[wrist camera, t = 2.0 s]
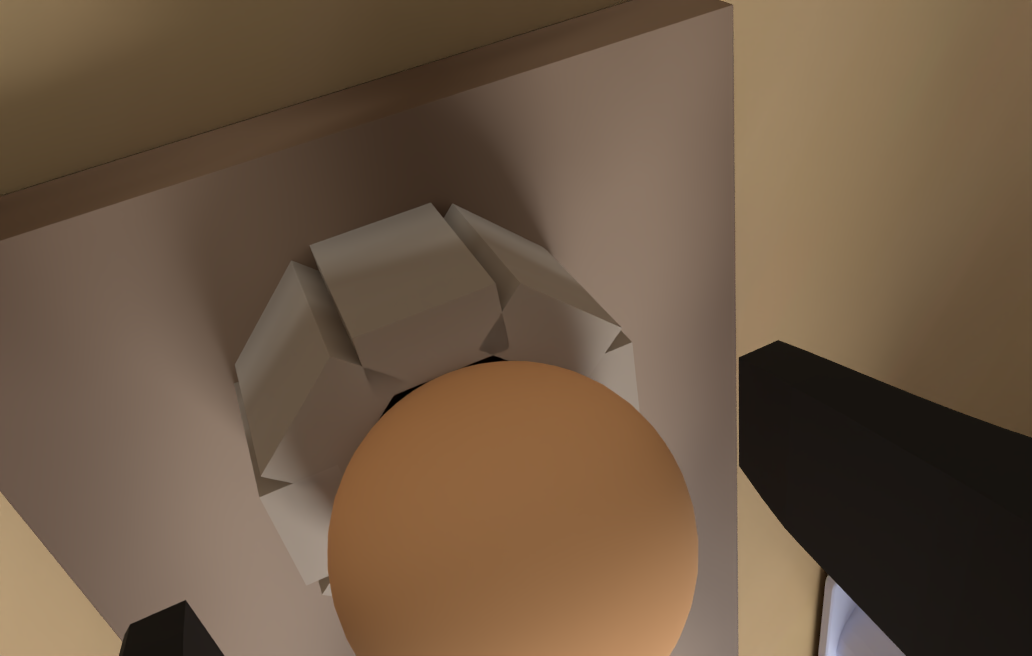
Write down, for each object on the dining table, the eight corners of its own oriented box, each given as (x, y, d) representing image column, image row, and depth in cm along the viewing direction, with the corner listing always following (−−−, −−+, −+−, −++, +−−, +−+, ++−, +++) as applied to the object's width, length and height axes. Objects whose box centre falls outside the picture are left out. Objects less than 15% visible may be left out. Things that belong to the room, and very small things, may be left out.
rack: (677, -14, 13) (854, 44, 10) (707, 624, 24) (797, 748, 21) (-132, 237, 10) (-229, 423, 7) (311, 829, 21) (347, 1005, 18)
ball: (572, 250, 11) (786, 458, 7) (605, 476, 13) (775, 706, 10) (245, 373, 10) (320, 678, 6) (350, 591, 12) (442, 890, 9)
